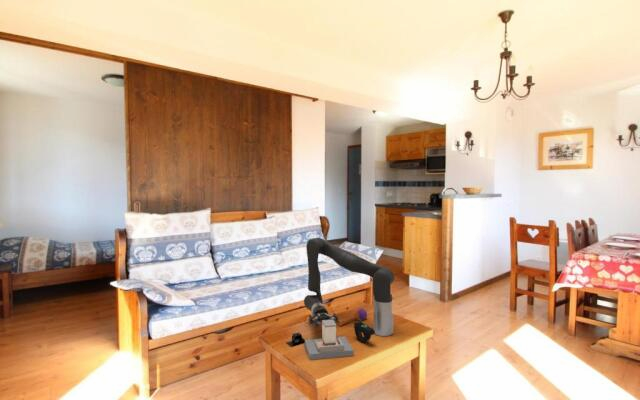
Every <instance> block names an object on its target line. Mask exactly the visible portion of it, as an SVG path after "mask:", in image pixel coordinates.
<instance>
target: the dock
mask: <svg viewBox="0 0 640 400" xmlns="http://www.w3.org/2000/svg"><path fill="white" fill-rule="evenodd" d="M304 346H305V347H304V348H305V350H306V353H307V356H308V359H309V360H310V361H314V360H316V361H317V360H325V359H334V358H343V357H344V358H345V357H354V356H355V355H354V354H355V353H354V352H355V351H354V350H355V349H354V348H353V347H352V345H351V343H350V342H349V341H348V339H347V337H346V336H336V344H335V345H327V346H325V344H323V340H322V338H313V339H305V343H304Z"/></svg>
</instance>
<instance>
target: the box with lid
mask: <svg viewBox="0 0 640 400" xmlns="http://www.w3.org/2000/svg"><path fill="white" fill-rule="evenodd" d="M321 325H322V326H321V328H322V330H321V331H322V332H321V337H322V338H321V339H322V340H323V344H325V346H327V345H335V344H336V337H337V326H338V325H336V323H335V322H334V320H333V319H332V320H322V322H321Z"/></svg>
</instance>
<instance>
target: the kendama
mask: <svg viewBox="0 0 640 400" xmlns="http://www.w3.org/2000/svg"><path fill="white" fill-rule="evenodd" d="M367 317H368V312H367V311H366V309H364V308H359V309H357V311H355V313H354V314H353V316H351V317H346V318H342V319H338V322H337V326H338V327H342V326H343V325H345V324H347V323H349V322H350V321H352V320H357V319H361V321H363V320H365V319H367Z"/></svg>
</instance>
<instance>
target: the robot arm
mask: <svg viewBox="0 0 640 400" xmlns="http://www.w3.org/2000/svg"><path fill="white" fill-rule="evenodd" d="M305 250H306V257H307V269H308V270H307V271H308V278H307V280H308V281H307V290H308V291H309V292H313V293H315V294H309V295H306V296H305V297H304V298H303V304H304V306H305V308H306V309H307V310H309V311H310V312H311V314H309V315H308V323H309V325H314V327H316V328H319V324H320V323H322V320H334V322H335V323H336V325H337V322H338V320H339V316H338V315H337V314H336V313H335V312H333V313H332V314H330V313H329V311H328V310H327V308H326V306H325V305H324V304H323V303H324V300H323V297H322V292H321V271H320V267H319V256H320V255H323V256H326V257H328V258H330V259H331V260H332V261H333V262H335V263H336V264H337V265H338V266H339V267H341V268H343V269H345V270H347V271H349V272H353V273H357V274H363V275H366V276H369V277H370V278H372V295H373V329H374V331H375V333H374V334H375V335H377V336H380V337H388V336H391V335H393V334H394V315H393V295H392V292H391V285H392V283H394V281H395V274H394V272H393V271H392V270H391V269H390V268H388V267H385V266H382V265H379V264H376V263H375V262H371V261H369V260H367V259H365V258H363V257H361V256H358V255H357V254H354V253H353V252H351V251H348V250H346V249H343V248H340V247H338V246H335V245H334V244H332V243H330V242H328V241H327V240H325V239H324V238H321V237H315V238H314V237H312V238H310V239H309V240H308V241H307V242H306V249H305ZM337 326H338V325H337Z"/></svg>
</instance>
